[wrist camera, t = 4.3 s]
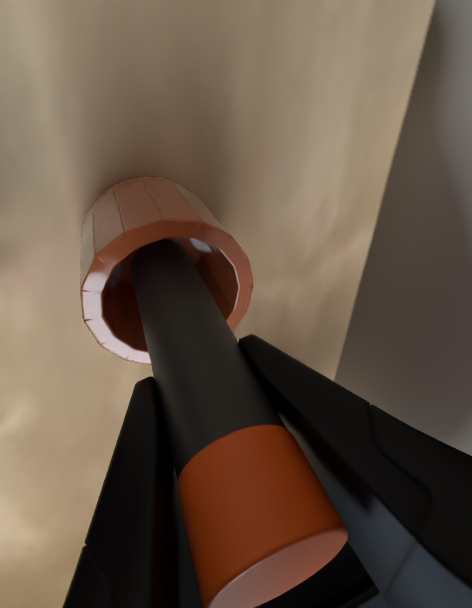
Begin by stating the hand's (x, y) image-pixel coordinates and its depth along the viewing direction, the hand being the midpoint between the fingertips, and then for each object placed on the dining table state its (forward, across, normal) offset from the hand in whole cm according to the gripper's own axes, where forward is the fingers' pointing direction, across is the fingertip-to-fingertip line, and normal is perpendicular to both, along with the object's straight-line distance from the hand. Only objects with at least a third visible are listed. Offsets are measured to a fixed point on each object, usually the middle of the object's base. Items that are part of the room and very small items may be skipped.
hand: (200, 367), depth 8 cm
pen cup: (+8, 0, 0) cm, 8 cm away
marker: (+6, 0, 0) cm, 6 cm away
